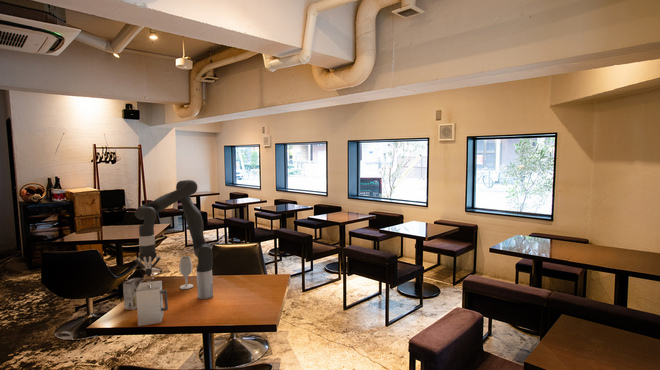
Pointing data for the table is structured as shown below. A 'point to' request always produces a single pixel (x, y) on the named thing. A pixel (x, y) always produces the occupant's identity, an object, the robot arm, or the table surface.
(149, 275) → the brass disc knob
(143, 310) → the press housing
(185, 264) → the wineglass
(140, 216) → the robot arm
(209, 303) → the table surface
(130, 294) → the coffee box
